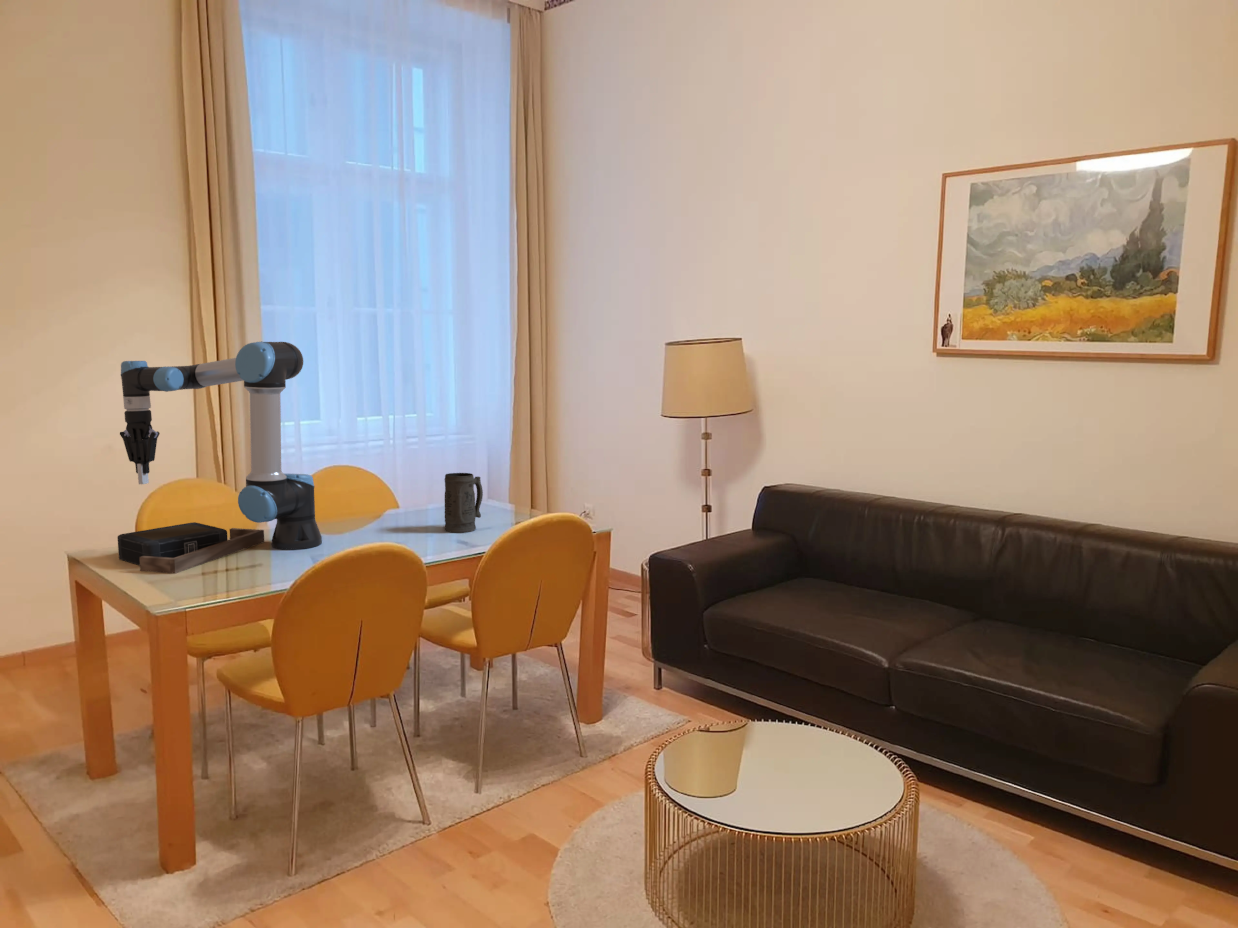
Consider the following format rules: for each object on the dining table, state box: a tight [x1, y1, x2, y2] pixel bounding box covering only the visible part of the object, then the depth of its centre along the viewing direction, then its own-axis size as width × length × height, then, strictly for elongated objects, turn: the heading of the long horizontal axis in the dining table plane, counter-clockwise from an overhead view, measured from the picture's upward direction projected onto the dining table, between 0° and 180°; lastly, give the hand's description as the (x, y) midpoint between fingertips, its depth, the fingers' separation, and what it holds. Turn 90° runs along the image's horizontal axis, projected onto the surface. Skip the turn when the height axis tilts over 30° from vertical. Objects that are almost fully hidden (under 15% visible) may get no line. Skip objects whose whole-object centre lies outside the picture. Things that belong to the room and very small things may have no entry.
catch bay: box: [139, 527, 265, 574], centre depth 278 cm, size 12×41×4 cm, turn 166°
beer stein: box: [444, 472, 484, 534], centre depth 318 cm, size 15×11×20 cm
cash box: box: [116, 521, 229, 566], centre depth 278 cm, size 25×20×8 cm
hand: (143, 483), depth 292 cm, fingers closed
